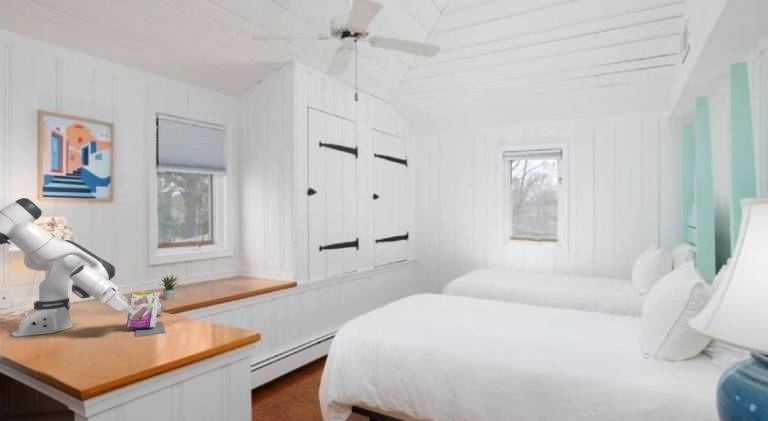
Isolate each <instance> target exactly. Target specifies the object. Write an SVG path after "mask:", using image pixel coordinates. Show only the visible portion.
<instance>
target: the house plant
mask: <svg viewBox="0 0 768 421" xmlns="http://www.w3.org/2000/svg"><path fill="white" fill-rule="evenodd" d="M180 277H181V276H174V275H173V274H171V275H170V278H169V275H168V274H166V276H165V277H164V276H162V279H161V278H159V280H160V281H161V282H162V283H163V284H161V283H159V284H158V286H163V287H164V289H162V293H163V297H164V300H165V301H169V300H170V301H172V300H174V298H175V295H176V294H175V293H176V288H174V287H175V285H178V280H180V279H179V278H180ZM176 281H177V282H176Z"/></svg>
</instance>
